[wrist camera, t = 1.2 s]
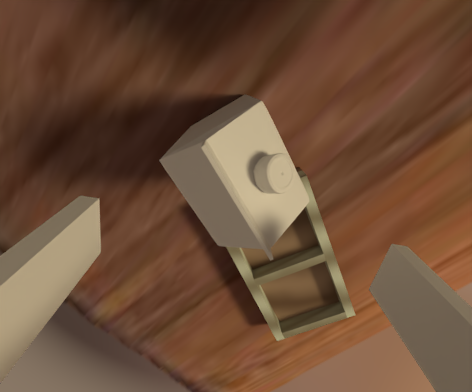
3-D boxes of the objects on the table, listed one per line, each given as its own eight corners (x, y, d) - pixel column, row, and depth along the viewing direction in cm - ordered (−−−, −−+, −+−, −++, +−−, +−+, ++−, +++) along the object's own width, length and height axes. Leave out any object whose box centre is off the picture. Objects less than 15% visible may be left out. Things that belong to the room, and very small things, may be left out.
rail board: (210, 204, 33) (209, 215, 30) (299, 167, 32) (306, 175, 29) (273, 323, 42) (277, 341, 39) (345, 298, 40) (355, 314, 37)
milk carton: (221, 177, 32) (215, 286, 15) (190, 126, 30) (137, 182, 12) (273, 149, 31) (334, 231, 13) (245, 93, 28) (275, 103, 11)
